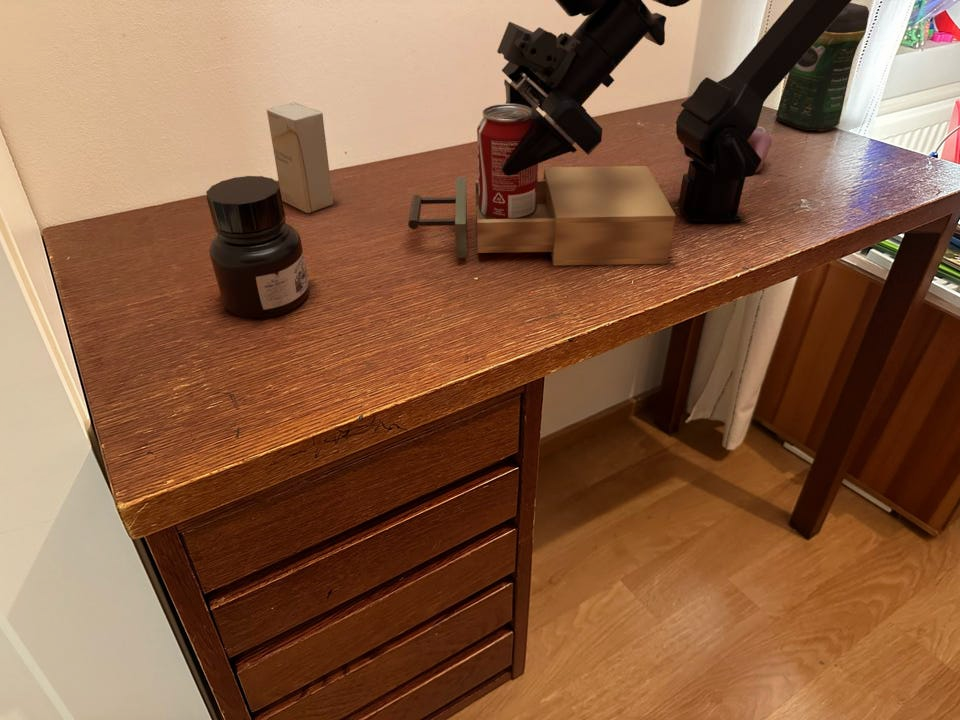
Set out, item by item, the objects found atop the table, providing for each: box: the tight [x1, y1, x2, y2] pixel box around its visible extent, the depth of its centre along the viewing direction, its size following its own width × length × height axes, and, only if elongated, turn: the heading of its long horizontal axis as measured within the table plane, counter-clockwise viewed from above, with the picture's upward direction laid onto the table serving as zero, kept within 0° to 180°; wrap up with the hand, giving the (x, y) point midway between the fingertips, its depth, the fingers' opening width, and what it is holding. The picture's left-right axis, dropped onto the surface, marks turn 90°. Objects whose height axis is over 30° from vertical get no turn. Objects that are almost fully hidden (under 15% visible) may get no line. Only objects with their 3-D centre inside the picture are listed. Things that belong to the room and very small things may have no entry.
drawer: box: [407, 176, 555, 259], centre depth 82 cm, size 17×13×4 cm
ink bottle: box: [205, 175, 310, 318], centre depth 69 cm, size 10×9×12 cm
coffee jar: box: [776, 2, 870, 132], centre depth 110 cm, size 10×8×19 cm
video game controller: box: [748, 124, 773, 174], centre depth 101 cm, size 10×5×7 cm, turn 58°
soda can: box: [476, 103, 539, 219], centre depth 78 cm, size 7×7×12 cm
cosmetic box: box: [266, 101, 334, 214], centre depth 88 cm, size 6×4×12 cm
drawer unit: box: [543, 165, 677, 267], centre depth 82 cm, size 13×14×6 cm
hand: (496, 161), depth 77 cm, fingers closed on soda can, 7 cm apart
